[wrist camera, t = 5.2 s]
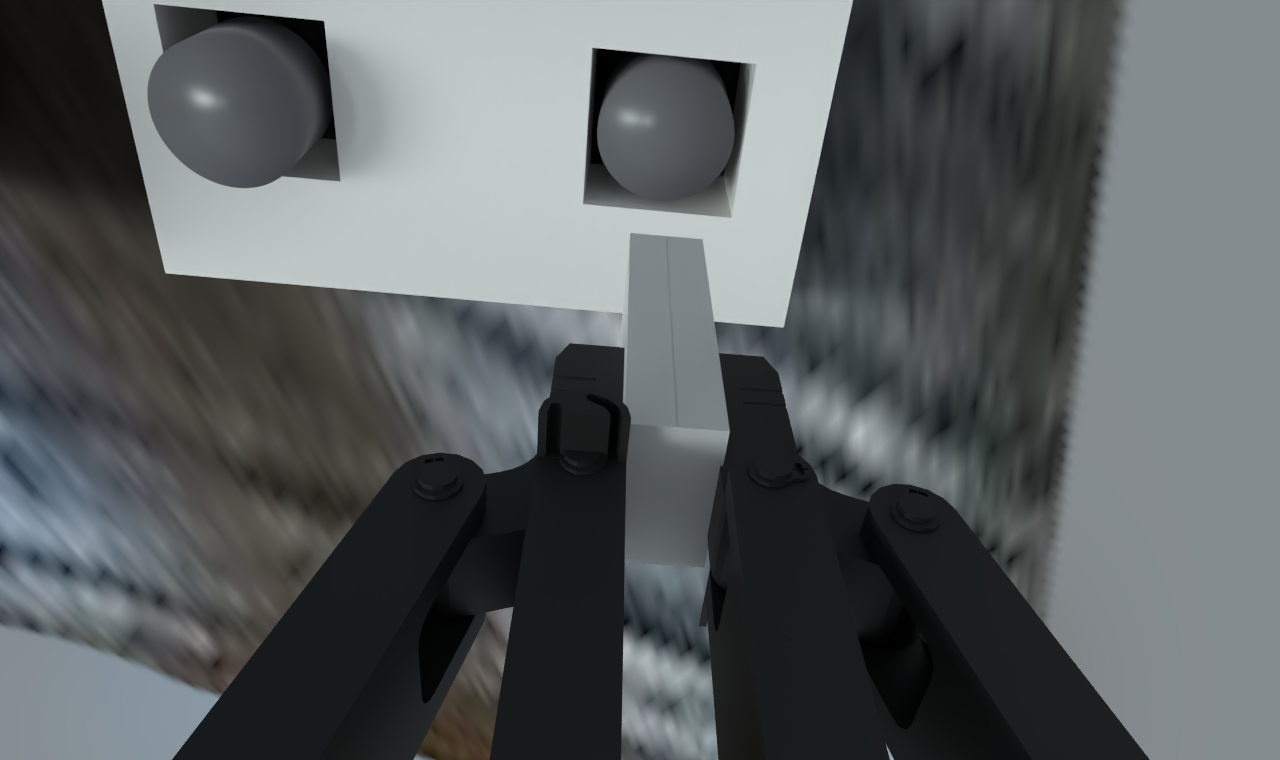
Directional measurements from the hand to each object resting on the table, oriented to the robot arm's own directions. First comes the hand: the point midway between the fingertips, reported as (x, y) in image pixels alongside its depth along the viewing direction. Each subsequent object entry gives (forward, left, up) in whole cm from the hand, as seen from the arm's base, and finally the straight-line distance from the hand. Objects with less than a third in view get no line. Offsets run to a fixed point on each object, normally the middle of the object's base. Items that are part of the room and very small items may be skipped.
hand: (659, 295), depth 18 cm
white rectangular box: (-6, 0, -15) cm, 16 cm away
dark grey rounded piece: (-13, 0, -12) cm, 17 cm away
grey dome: (0, 0, -14) cm, 14 cm away
